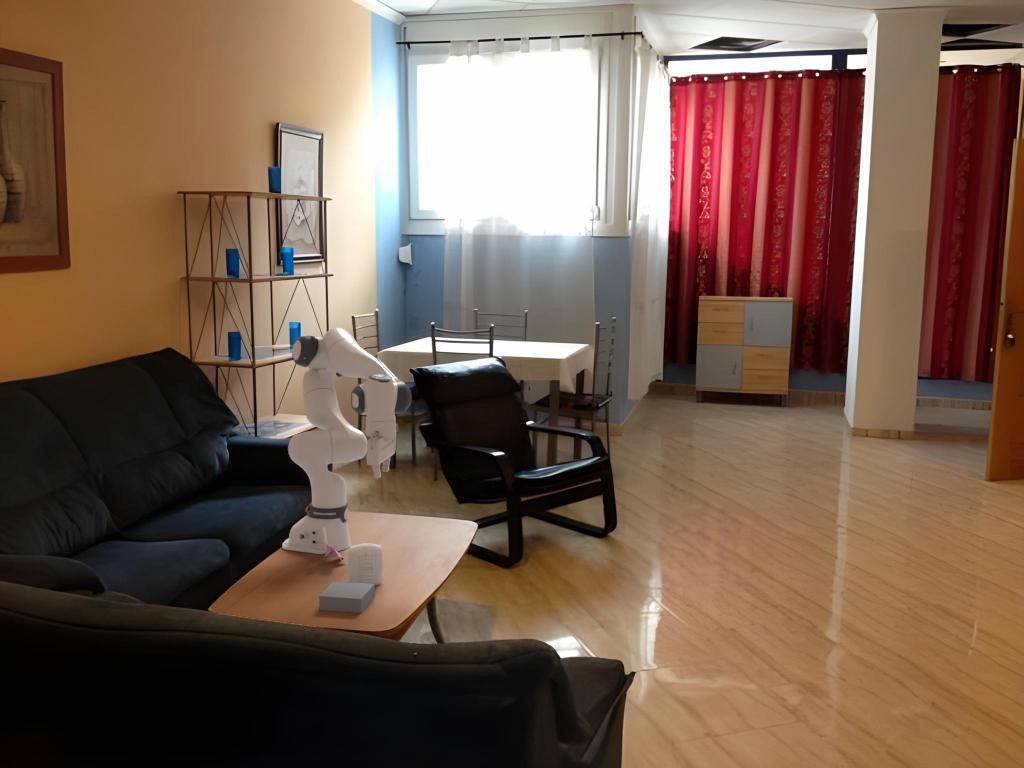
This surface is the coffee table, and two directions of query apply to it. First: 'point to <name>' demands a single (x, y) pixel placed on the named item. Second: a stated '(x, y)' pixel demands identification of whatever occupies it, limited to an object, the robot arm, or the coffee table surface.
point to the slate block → (347, 597)
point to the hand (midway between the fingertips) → (381, 474)
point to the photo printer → (365, 564)
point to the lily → (331, 551)
